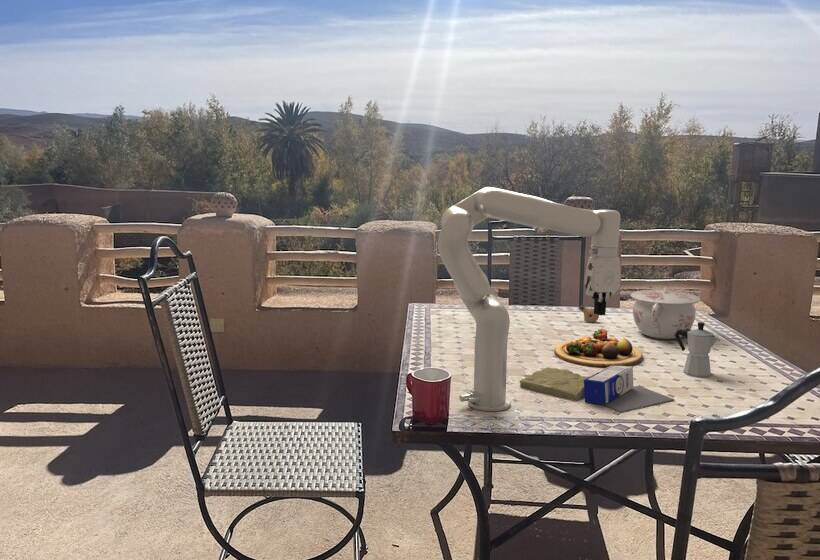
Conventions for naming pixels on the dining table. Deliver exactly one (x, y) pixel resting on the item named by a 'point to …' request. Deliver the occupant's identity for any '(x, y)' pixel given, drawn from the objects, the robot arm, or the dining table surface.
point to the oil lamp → (589, 314)
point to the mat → (637, 399)
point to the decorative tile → (556, 383)
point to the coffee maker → (697, 350)
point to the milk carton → (608, 384)
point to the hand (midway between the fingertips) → (599, 314)
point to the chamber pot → (663, 312)
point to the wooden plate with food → (599, 351)
